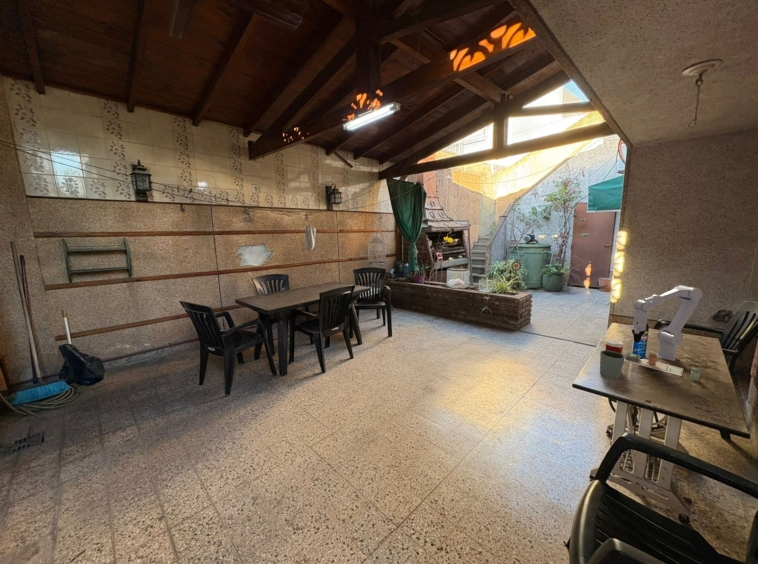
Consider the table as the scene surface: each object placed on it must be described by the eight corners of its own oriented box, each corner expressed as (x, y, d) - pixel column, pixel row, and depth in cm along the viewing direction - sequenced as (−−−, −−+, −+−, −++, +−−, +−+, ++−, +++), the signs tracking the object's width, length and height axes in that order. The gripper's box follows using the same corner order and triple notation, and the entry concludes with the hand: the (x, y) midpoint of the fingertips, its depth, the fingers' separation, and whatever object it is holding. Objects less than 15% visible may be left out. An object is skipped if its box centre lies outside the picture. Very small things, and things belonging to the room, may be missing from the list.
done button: (629, 356, 172) (629, 353, 172) (637, 358, 170) (637, 355, 169) (628, 358, 170) (628, 355, 170) (636, 360, 167) (636, 357, 167)
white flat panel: (626, 355, 177) (627, 354, 176) (683, 369, 159) (683, 368, 159) (622, 361, 169) (622, 360, 169) (681, 376, 151) (681, 375, 151)
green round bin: (611, 381, 148) (615, 359, 146) (592, 371, 157) (595, 351, 155) (626, 378, 150) (629, 356, 148) (606, 369, 160) (609, 349, 158)
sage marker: (689, 377, 150) (691, 366, 149) (699, 380, 148) (701, 369, 147) (689, 379, 148) (691, 369, 147) (698, 382, 146) (701, 371, 145)
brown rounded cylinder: (656, 364, 163) (657, 354, 162) (655, 366, 161) (657, 356, 160) (648, 362, 166) (650, 352, 165) (647, 364, 164) (649, 354, 163)
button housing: (627, 356, 174) (627, 352, 174) (640, 359, 170) (640, 355, 169) (625, 359, 170) (625, 355, 170) (638, 362, 166) (639, 358, 165)
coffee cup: (624, 371, 158) (628, 345, 155) (607, 369, 160) (610, 344, 157) (615, 364, 166) (618, 339, 163) (598, 362, 168) (602, 338, 165)
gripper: (633, 316, 177) (630, 337, 179) (629, 321, 168) (625, 343, 170) (649, 318, 172) (645, 340, 174) (645, 324, 162) (641, 347, 165)
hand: (636, 342), depth 172 cm, fingers closed
